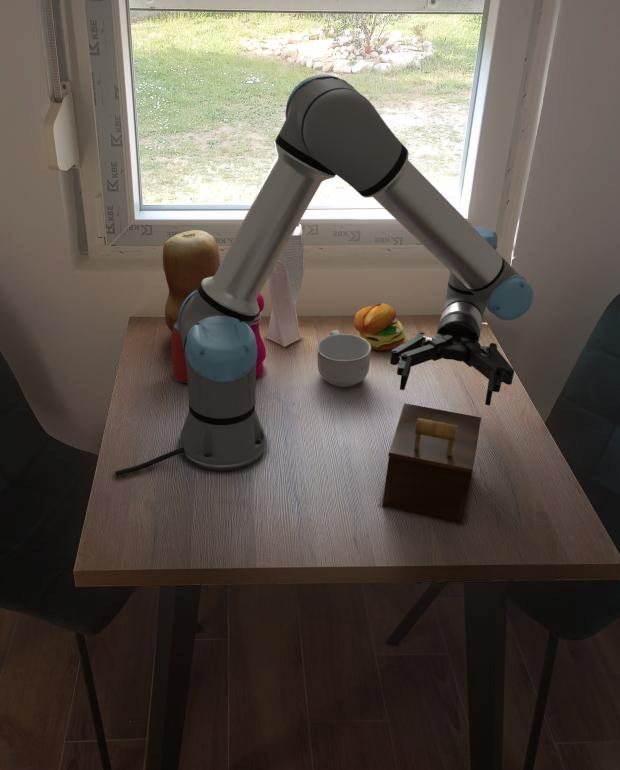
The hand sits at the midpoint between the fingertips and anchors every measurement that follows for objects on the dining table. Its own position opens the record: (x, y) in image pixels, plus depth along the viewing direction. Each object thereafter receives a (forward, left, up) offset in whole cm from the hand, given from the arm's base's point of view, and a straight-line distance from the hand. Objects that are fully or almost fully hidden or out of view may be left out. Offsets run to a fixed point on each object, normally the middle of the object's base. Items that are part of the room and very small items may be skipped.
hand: (445, 390), depth 127 cm
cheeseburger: (+18, +45, -18) cm, 51 cm away
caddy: (-2, -2, -18) cm, 18 cm away
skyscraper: (-1, +55, -18) cm, 58 cm away
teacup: (+3, +36, -18) cm, 40 cm away
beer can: (-26, +48, -18) cm, 57 cm away
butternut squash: (-19, +62, -18) cm, 67 cm away
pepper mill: (-14, +45, -18) cm, 50 cm away
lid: (-3, -3, -7) cm, 8 cm away
